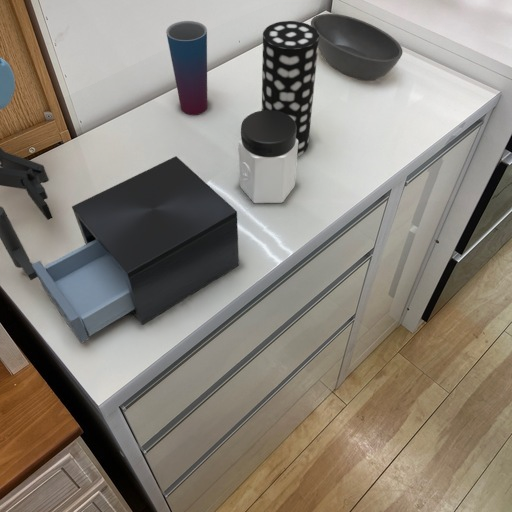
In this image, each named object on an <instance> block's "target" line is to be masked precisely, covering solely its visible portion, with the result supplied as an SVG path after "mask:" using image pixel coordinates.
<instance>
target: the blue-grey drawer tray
mask: <svg viewBox="0 0 512 512" xmlns="http://www.w3.org/2000/svg"><path fill="white" fill-rule="evenodd" d="M0 241H1V243H2V244H3V246H4V248H5V250H6V252H7V254H8V255H9V258H10V259H11V261H12V263H13V265H14V266H15V268H18V269H22V270H23V272H24V274H25V275H26V276H27V278H28V280H30V281H33V280H35V279H36V278H37V279H38V281H39V282H40V285H41V287H42V289H43V290H44V292H45V293H46V294H47V296H48V297H49V299H50V300H51V302H52V304H54V306H55V307H56V309H57V310H58V312H59V313H60V315H61V316H62V318H63V319H64V321H65V322H66V323H67V325H68V326H69V328H70V330H71V331H72V332H73V334H74V335H75V336H76V338H77V339H78V341H79V342H80V344H82V343H84V342H87V340H89V339H90V337H89V336H92V335H94V334H95V333H98V332H99V331H101V330H103V329H104V328H105V327H107V326H109V325H111V324H112V323H114V322H115V321H118V320H119V319H120V318H122V317H124V316H125V315H127V314H129V313H132V310H134V309H135V308H134V305H133V302H132V298H131V295H130V292H129V288H128V285H127V282H126V278H125V275H124V272H123V271H122V270H121V269H120V267H119V266H118V265H117V264H116V263H115V261H114V260H113V259H112V258H111V256H110V255H109V254H108V253H107V252H106V250H105V249H104V248H103V247H102V246H101V244H100V243H99V242H98V241H97V239H95V240H94V241H92V242H90V243H88V244H84V245H82V246H80V247H78V248H76V249H74V250H73V251H71V252H69V253H66V254H64V255H63V256H61V257H59V258H57V259H55V260H53V261H51V262H49V263H47V264H46V265H43V263H42V262H41V261H40V260H38V261H36V262H34V263H32V262H31V261H30V258H29V256H28V253H27V252H26V250H25V248H24V246H23V243H22V242H21V240H20V238H19V236H18V234H17V232H16V230H15V228H14V226H13V224H12V222H11V220H10V218H9V217H8V214H7V212H6V210H5V208H4V207H3V206H1V205H0Z"/></svg>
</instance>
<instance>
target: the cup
mask: <svg viewBox="0 0 512 512" xmlns="http://www.w3.org/2000/svg"><path fill="white" fill-rule="evenodd" d="M165 33H166V37H167V43H168V48H169V53H170V58H171V64H172V69H173V74H174V81H175V84H176V85H175V86H176V89H177V94H178V100H179V105H180V110H181V111H182V112H183V113H185V114H186V115H190V116H196V115H200V114H203V113H204V112H206V111H207V109H208V29H207V27H206V25H204V24H203V23H201V22H199V21H194V20H182V21H177V22H174V23H172V24H170V25H169V26H168V27H167V29H166V31H165Z"/></svg>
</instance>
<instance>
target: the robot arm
mask: <svg viewBox="0 0 512 512" xmlns="http://www.w3.org/2000/svg"><path fill="white" fill-rule="evenodd" d="M15 78H16V77H15V73H14V71H13V69H12V67H11V65H10V64H9V63H8V62H7V61H6V60H5V59H4V58H2V57H0V111H1V110H4V109H5V108H6V107H7V106H9V105H10V103H11V101H12V98H13V96H14V94H15V89H16V80H15ZM49 180H50V178H49V176H48V174H47V170H46V167H45V166H44V165H43V164H40V163H38V162H35V161H32V160H29V159H27V158H23V157H21V156H18V155H15V154H13V153H10V152H6V151H5V150H4V149H3V148H2V147H0V186H1V187H7V188H14V189H21V190H26V192H27V195H28V196H29V197H30V199H31V200H32V201H33V203H34V205H36V207H37V208H38V209H39V211H40V212H41V214H42V215H43V216H44V217H45V219H46V220H47V221H50V220H51V219H53V214H52V213H51V210H50V207H49V205H48V203H47V202H46V199H48V193H47V191H46V187H44V185H43V184H44V183H45V184H46V183H48V182H49Z"/></svg>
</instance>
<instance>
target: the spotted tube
mask: <svg viewBox="0 0 512 512" xmlns="http://www.w3.org/2000/svg"><path fill="white" fill-rule="evenodd" d="M318 43H319V33H318V31H317V30H316V29H315V28H314V27H312V26H311V24H308V23H306V22H302V21H294V20H284V21H283V20H281V21H277V22H274V23H271V24H269V25H268V26H267V27H266V28H264V29H263V31H262V64H261V65H262V68H261V70H262V71H261V73H262V74H261V111H263V110H274V111H279V112H282V113H285V114H287V115H289V116H290V117H291V118H292V119H293V120H294V121H295V123H296V127H297V130H296V139H297V140H298V152H297V157H299V156H301V155H303V154H305V152H306V151H307V150H308V147H309V142H310V131H311V124H312V123H311V121H312V111H313V102H314V101H313V100H314V92H315V81H316V72H317V61H318V53H319V52H318V51H319V49H318Z"/></svg>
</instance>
